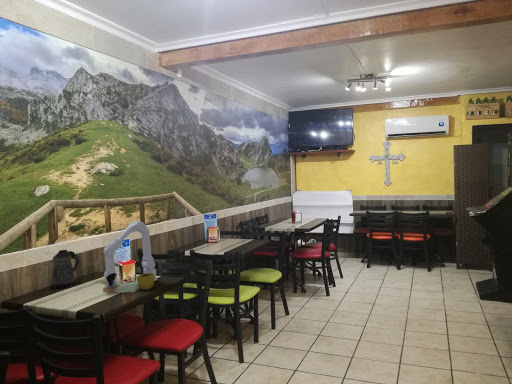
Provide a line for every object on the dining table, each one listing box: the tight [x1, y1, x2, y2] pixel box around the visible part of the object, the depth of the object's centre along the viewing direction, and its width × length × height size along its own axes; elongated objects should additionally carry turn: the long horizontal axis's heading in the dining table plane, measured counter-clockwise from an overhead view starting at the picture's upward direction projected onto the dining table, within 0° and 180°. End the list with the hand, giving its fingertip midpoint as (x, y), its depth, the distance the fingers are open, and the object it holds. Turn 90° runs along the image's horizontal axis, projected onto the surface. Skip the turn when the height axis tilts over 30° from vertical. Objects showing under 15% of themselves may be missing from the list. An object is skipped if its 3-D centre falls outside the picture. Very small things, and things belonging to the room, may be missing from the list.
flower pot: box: [136, 272, 155, 290], centre depth 259 cm, size 9×9×9 cm
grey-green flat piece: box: [116, 282, 141, 294], centre depth 259 cm, size 11×13×3 cm
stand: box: [102, 284, 121, 293], centre depth 260 cm, size 6×9×3 cm
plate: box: [105, 279, 118, 287], centre depth 260 cm, size 1×7×7 cm, turn 83°
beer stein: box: [50, 249, 81, 289], centre depth 282 cm, size 16×19×25 cm
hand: (111, 285), depth 260 cm, fingers closed
